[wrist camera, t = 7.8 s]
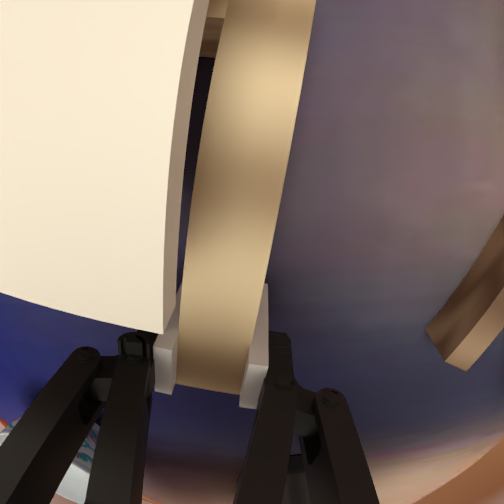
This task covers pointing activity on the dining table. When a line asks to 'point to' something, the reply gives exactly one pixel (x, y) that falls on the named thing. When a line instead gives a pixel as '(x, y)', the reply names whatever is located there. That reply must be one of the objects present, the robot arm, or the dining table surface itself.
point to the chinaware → (72, 466)
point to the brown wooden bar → (473, 308)
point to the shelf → (95, 153)
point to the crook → (238, 181)
